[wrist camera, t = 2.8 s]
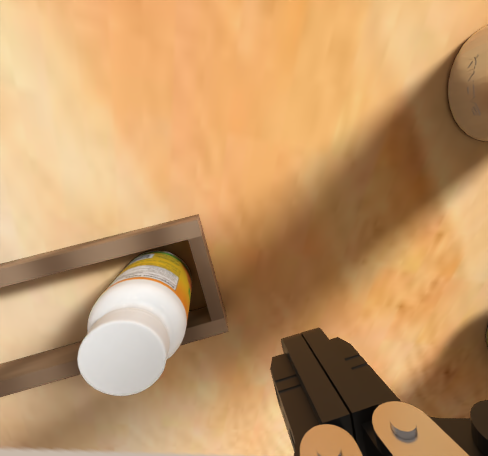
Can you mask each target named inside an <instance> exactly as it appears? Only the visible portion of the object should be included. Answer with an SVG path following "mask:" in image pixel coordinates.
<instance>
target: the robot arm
mask: <svg viewBox="0 0 488 456" xmlns="http://www.w3.org/2000/svg"><path fill="white" fill-rule="evenodd" d="M448 98H449V105H450V109H451V112H452V114H453V117H454V119H455V121H456V122H457V124H458V125H459V127H460V128H461V129H462V130H463V131H464V132H465V133H466V134H467V135H469V136H471V137H473V138H475V139H477V140H481V141H485V142H487V141H488V25H486V26H484V27H482V28H481V29H479V30H478V31H477V32H475V33H474V34H473V35H472V36H471V37H470V38H469V39H468V40H467V41H466V42H465V43H464V45H463V46H462V48H461V49H460V51H459V53H458V54H457V56H456V58H455V61H454V63H453V66H452V68H451V72H450V77H449V82H448ZM281 343H282V348H283V352H284V354H282V355H278V356H275V357H272V363H271V368H270V370H271V374H272V378H273V382H274V386H275V390H276V395H277V399H278V403H279V406H280V409H281V412H282V415H283V418H284V421H285V424H286V427H287V430H288V434H289V437H290V440H291V443H292V446H293V449H294V452H295V453H294V456H488V400H485V401H480V402H478V403H476V404H475V405H474V406H473V407H472V409H471V419H456V418H433V417H429V416H427V415H426V414H425V413H424V412H423V411H421V410H420V409H418V408H417V407H415V406H413V405H410V404H408V403H404V402H401V401H400V400H399V399H398V398H397V397H396V395H395V394H394V393H393V392H392V391H391V390H390V389H389V387H388V386H387V385H386V384H385V383H384V382H383V381H382V379H381V378H380V377H379V376H378V375H377V374H376V373H375V371H374V370H373V369H372V368H371V367H370V366H369V365H368V364H367V362H366V361H365V360H364V359H363V358H362V357H361V356H360V355H359V353H358V352H357V351H356V350H355V349H354V347H353V346H352V345H351V344H350V343H348V342H346V341H344V340H342V339H340V338H338V337H337V338H333V339H330V340H329V339H328V337H327V336H326V335H325V334H324V332H323V331H322V330H321V329H320V328H316V329H312V330H309V331H306V332H302V333H299V334H296V335H293V336H289V337H286V338H283V339H281Z"/></svg>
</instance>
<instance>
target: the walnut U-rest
mask: <svg viewBox="0 0 488 456" xmlns="http://www.w3.org/2000/svg"><path fill="white" fill-rule="evenodd" d="M184 240H188V241H189V245H190V248H191V252H192V255H193V259H194V262H195V266H196V269H197V273H198V276H199V280H200V283H201V286H202V290H203V293H204V297H205V300H206V304H207V307H204V308H200V309H196V310H193V311H189V312H188V319H187V326H186V331H185V335H184V338H183V340H182V342H181V344H180V345H183V344H187V343H190V342H194V341H197V340H201V339H204V338H208V337H211V336H215V335H218V334H222V333H225V332H228V326H227V318H226V313H225V309H224V305H223V302H222V298H221V294H220V291H219V287H218V283H217V280H216V276H215V272H214V269H213V265H212V261H211V258H210V254H209V251H208V247H207V243H206V240H205V236H204V232H203V229H202V225H201V221H200V218H199V214H198V215H194V216H190V217H186V218H182V219H178V220H174V221H170V222H166V223H162V224H158V225H154V226H150V227H146V228H142V229H138V230H134V231H130V232H126V233H122V234H118V235H114V236H110V237H106V238H102V239H98V240H94V241H90V242H86V243H82V244H78V245H74V246H70V247H66V248H62V249H58V250H54V251H50V252H46V253H42V254H38V255H34V256H30V257H26V258H22V259H18V260H14V261H10V262H6V263H2V264H0V288H1V287H5V286H9V285H13V284H17V283H21V282H24V281H28V280H32V279H36V278H40V277H44V276H48V275H52V274H56V273H59V272H63V271H67V270H71V269H75V268H79V267H83V266H87V265H91V264H94V263H98V262H102V261H106V260H110V259H114V258H118V257H122V256H126V255H129V254H133V253H137V252H141V251H145V250H149V249H153V248H157V247H161V246H165V245H168V244H172V243H176V242H180V241H184ZM81 343H82V342H78V343H74V344H71V345H67V346H64V347H60V348H57V349H53V350H49V351H46V352H42V353H39V354H35V355H31V356H28V357H24V358H21V359H17V360H13V361H10V362H6V363H3V364H0V397H3V396H6V395H10V394H13V393H17V392H20V391H24V390H27V389H31V388H34V387H37V386H41V385H44V384H48V383H51V382H55V381H58V380H62V379H65V378H69V377H72V376H76V375H79V374H81V373H80V370H79V367H78V361H77V357H78V351H79V348H80V345H81Z"/></svg>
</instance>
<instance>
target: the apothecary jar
mask: <svg viewBox="0 0 488 456" xmlns="http://www.w3.org/2000/svg"><path fill="white" fill-rule="evenodd" d="M486 343H487V347H488V326H487V331H486Z"/></svg>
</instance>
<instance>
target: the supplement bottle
mask: <svg viewBox="0 0 488 456" xmlns="http://www.w3.org/2000/svg"><path fill="white" fill-rule="evenodd" d="M191 291H192V276H191V273H190V270H189V268H188V266H187V265H186V264H185V262H184V261H183V260H182V259H180V258H179V257H178V256H176V255H174V254H172V253H169V252H166V251H149V252H146V253H143V254H141V255H139V256H137V257H136V258H135V259H133V260H132V261H131V262H130V263H129V264H128V265H127V266H126V267H125V269H124V270H123V271H122V272H121V273H120V274H119V275H118V277H117V278H116V279H115V280H114V281H113V282H112V283H111V285H110V286H109V287H108V288H107V289H106V290H105V291H104V292H103V294H102V295H101V296H100V297H99V298H98V300H97V301H96V303H95V304H94V306H93V308H92V310H91V312H90V315H89V318H88V325H87V331H88V334H87V335H86V337H85V338H84V339H83V341H82V343H81V345H80V348H79V351H78V357H77V361H78V367H79V370H80V373H81V375H82V376H83V378H84V379H85V381H86V382H87V383H88V384H89V385H91V386H92V387H93V388H95V389H96V390H98V391H100V392H103V393H105V394H109V395H114V396H127V395H132V394H136V393H139V392H141V391H143V390H145V389H147V388H149V387H150V386H151V385H153V384H154V383H155V382H156V381H157V380H158V378H159V377H160V375H161V374H162V372H163V370H164V368H165V364H166V360H167V359H168V358H170V357H171V356H172V355H173V354H174V353H175V352H176V350H177V349H178V348H179V346H180V344H181V342H182V340H183V338H184V335H185V331H186V326H187V319H188V312H189V305H190V298H191Z"/></svg>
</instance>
